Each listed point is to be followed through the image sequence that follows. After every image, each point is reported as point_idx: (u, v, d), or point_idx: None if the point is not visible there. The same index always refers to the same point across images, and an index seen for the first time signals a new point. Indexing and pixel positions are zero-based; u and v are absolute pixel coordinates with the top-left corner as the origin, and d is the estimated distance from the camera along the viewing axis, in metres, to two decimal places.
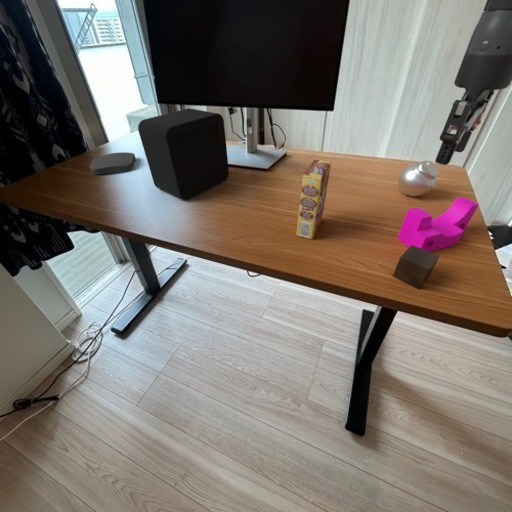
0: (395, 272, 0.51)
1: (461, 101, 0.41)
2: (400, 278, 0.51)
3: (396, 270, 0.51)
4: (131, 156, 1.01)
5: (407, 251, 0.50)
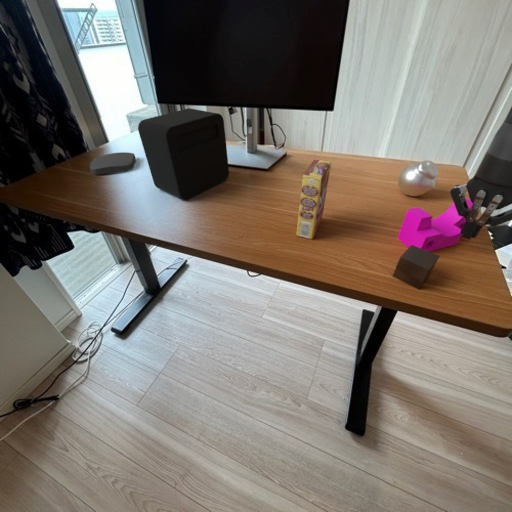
0: (395, 272, 0.51)
1: (453, 187, 0.54)
2: (400, 278, 0.51)
3: (396, 270, 0.51)
4: (131, 156, 1.01)
5: (407, 251, 0.50)
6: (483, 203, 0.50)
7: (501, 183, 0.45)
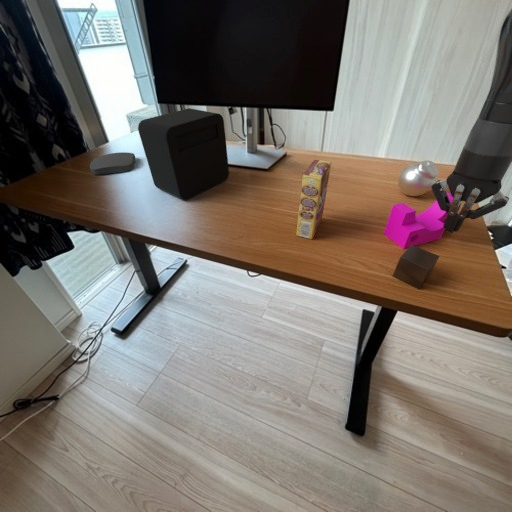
0: (395, 272, 0.51)
1: (435, 182, 0.56)
2: (400, 278, 0.51)
3: (396, 270, 0.51)
4: (131, 156, 1.01)
5: (407, 251, 0.50)
6: (463, 197, 0.52)
7: (477, 177, 0.47)
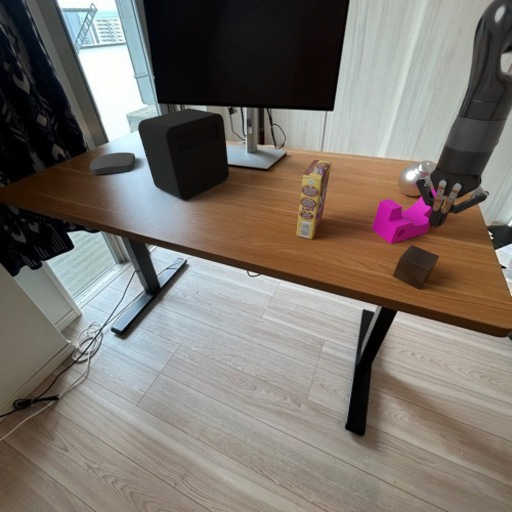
0: (395, 272, 0.51)
1: None
2: (400, 278, 0.51)
3: (396, 270, 0.51)
4: (131, 156, 1.01)
5: (407, 251, 0.50)
6: (445, 192, 0.54)
7: (457, 172, 0.49)
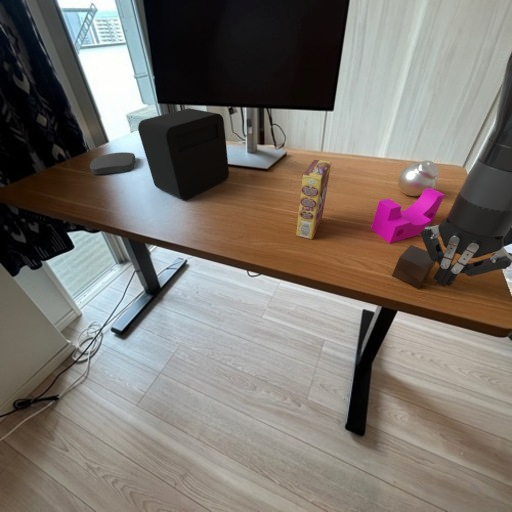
0: (394, 272, 0.51)
1: (425, 227, 0.46)
2: (399, 278, 0.51)
3: (395, 270, 0.51)
4: (131, 156, 1.01)
5: (406, 251, 0.50)
6: (457, 249, 0.43)
7: (475, 232, 0.37)
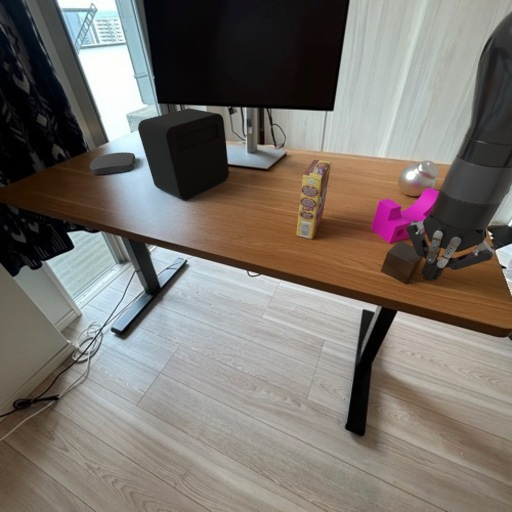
0: (383, 267, 0.52)
1: None
2: (388, 273, 0.52)
3: (384, 265, 0.52)
4: (131, 156, 1.01)
5: (395, 246, 0.51)
6: (442, 244, 0.44)
7: (456, 225, 0.39)
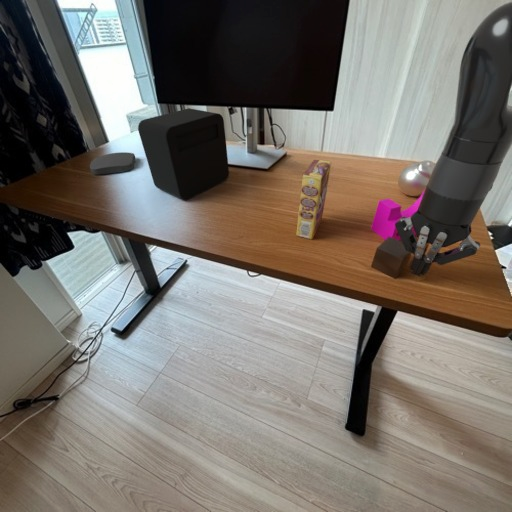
0: (373, 262, 0.53)
1: None
2: (378, 268, 0.53)
3: (374, 261, 0.53)
4: (131, 156, 1.01)
5: (384, 242, 0.52)
6: (429, 239, 0.45)
7: (442, 221, 0.40)
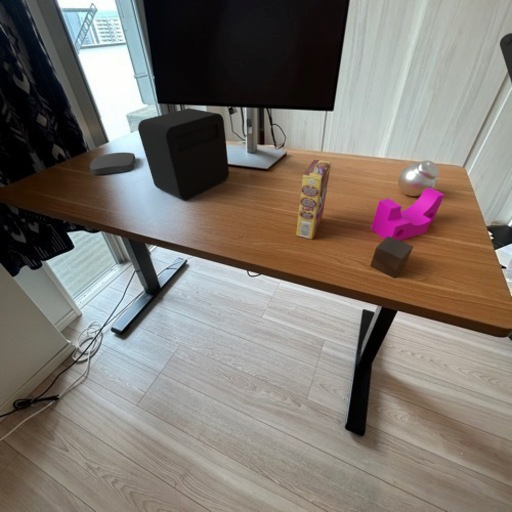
0: (372, 262, 0.53)
1: None
2: (377, 268, 0.53)
3: (373, 260, 0.53)
4: (131, 156, 1.01)
5: (383, 242, 0.52)
6: None
7: None
